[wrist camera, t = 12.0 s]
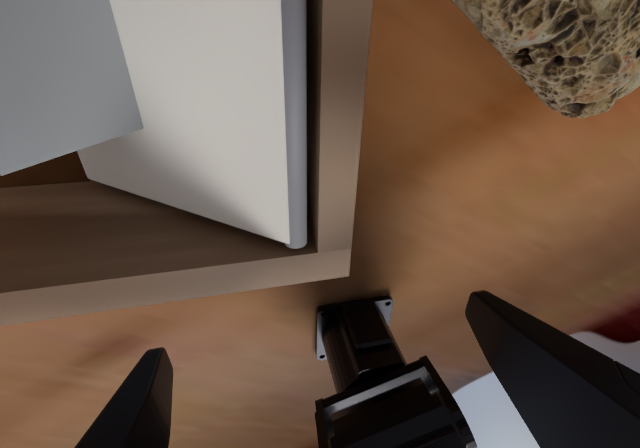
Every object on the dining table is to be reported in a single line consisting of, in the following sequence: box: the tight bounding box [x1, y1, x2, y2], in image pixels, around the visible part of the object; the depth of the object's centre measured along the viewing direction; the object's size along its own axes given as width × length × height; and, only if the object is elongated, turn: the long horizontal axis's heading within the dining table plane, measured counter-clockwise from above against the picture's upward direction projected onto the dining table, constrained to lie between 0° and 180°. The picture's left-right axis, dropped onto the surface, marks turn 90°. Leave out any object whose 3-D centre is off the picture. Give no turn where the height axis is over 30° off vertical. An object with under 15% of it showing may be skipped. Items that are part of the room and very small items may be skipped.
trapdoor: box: [77, 0, 307, 249], centre depth 12 cm, size 12×12×1 cm
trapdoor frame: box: [0, 0, 373, 326], centre depth 12 cm, size 16×16×8 cm
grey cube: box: [0, 0, 144, 176], centre depth 11 cm, size 5×5×5 cm
